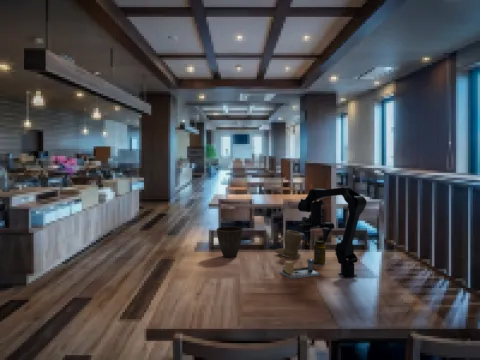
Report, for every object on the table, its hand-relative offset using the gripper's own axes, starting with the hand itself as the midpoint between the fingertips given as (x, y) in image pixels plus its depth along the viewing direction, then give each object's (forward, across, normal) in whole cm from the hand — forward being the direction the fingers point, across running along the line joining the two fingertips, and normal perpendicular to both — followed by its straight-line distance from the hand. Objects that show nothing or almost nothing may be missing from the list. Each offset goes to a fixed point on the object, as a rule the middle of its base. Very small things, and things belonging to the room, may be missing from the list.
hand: (316, 243), depth 223 cm
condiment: (+13, -5, -7) cm, 15 cm away
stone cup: (+12, +1, -26) cm, 29 cm away
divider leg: (+11, +20, +7) cm, 24 cm away
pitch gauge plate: (+13, +14, +8) cm, 21 cm away
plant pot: (+12, +34, -38) cm, 52 cm away
